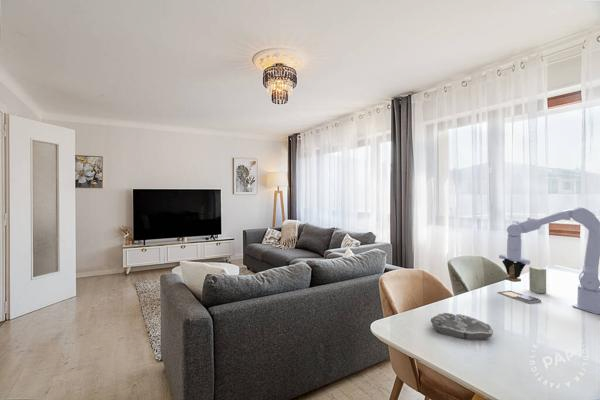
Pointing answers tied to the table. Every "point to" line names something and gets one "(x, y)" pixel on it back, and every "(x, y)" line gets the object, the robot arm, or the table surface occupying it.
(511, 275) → the stamp
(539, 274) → the skincare box
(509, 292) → the beige square tile
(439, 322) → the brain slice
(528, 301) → the ink pad
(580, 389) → the table surface
